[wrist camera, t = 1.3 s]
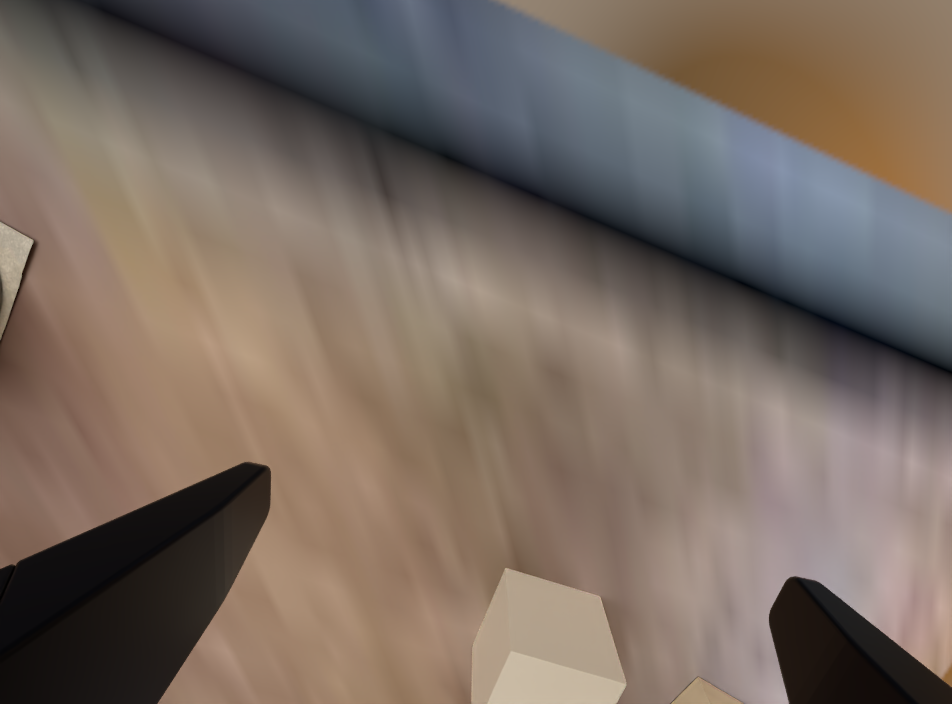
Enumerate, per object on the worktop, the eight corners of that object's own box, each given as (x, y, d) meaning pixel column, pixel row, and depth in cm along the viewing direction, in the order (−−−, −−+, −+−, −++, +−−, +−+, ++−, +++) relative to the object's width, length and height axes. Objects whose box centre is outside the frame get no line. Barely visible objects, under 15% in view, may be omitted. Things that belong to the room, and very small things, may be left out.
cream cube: (562, 670, 27) (580, 770, 22) (472, 644, 27) (470, 740, 22) (599, 595, 26) (626, 684, 21) (505, 566, 25) (510, 650, 21)
